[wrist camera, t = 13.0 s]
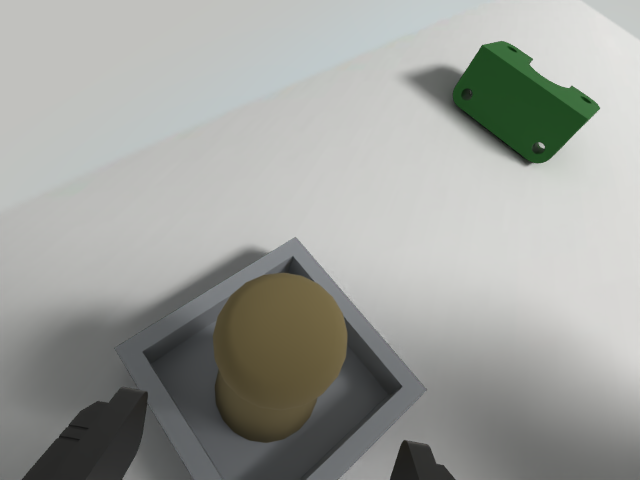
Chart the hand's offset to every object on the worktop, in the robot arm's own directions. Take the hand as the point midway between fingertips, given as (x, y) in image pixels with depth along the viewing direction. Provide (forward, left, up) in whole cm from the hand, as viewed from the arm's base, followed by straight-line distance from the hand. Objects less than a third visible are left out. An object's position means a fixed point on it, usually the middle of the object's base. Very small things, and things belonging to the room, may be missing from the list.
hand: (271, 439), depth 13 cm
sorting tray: (-3, -3, -12) cm, 12 cm away
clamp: (-37, -9, -12) cm, 40 cm away
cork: (-3, -3, -11) cm, 12 cm away
